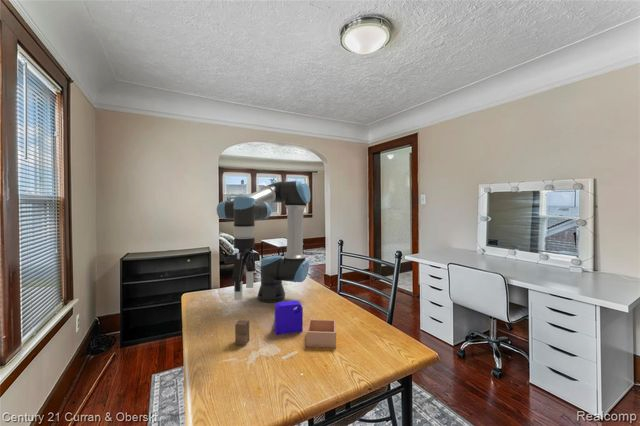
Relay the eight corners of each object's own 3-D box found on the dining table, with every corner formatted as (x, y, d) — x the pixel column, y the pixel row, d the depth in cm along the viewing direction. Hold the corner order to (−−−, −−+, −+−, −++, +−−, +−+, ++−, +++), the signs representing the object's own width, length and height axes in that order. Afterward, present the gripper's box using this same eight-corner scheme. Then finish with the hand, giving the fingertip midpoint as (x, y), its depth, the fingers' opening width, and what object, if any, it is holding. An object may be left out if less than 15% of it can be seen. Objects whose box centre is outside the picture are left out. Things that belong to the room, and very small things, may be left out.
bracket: (302, 331, 112) (302, 303, 111) (276, 335, 108) (276, 306, 108) (293, 314, 129) (293, 290, 128) (270, 317, 126) (270, 292, 125)
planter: (308, 332, 111) (308, 319, 110) (335, 333, 110) (335, 319, 110) (306, 346, 100) (306, 332, 100) (335, 347, 99) (336, 333, 99)
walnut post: (239, 339, 105) (239, 319, 104) (249, 340, 104) (249, 319, 104) (235, 345, 101) (235, 324, 100) (245, 345, 100) (245, 324, 100)
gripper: (244, 233, 113) (245, 283, 114) (221, 242, 89) (221, 305, 89) (262, 233, 113) (262, 283, 114) (243, 242, 88) (243, 306, 89)
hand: (244, 293), depth 102 cm, fingers open, 13 cm apart
